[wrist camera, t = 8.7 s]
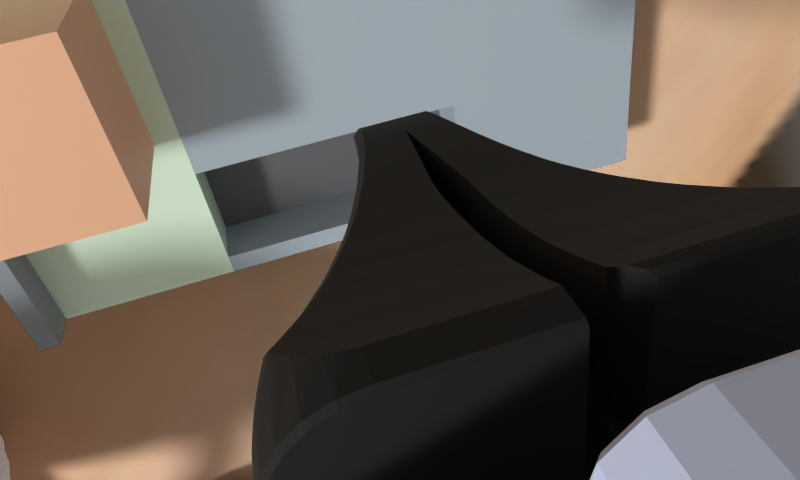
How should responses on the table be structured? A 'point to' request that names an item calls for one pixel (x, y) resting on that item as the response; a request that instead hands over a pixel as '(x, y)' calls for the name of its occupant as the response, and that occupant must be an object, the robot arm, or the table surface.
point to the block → (66, 130)
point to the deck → (316, 123)
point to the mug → (4, 462)
